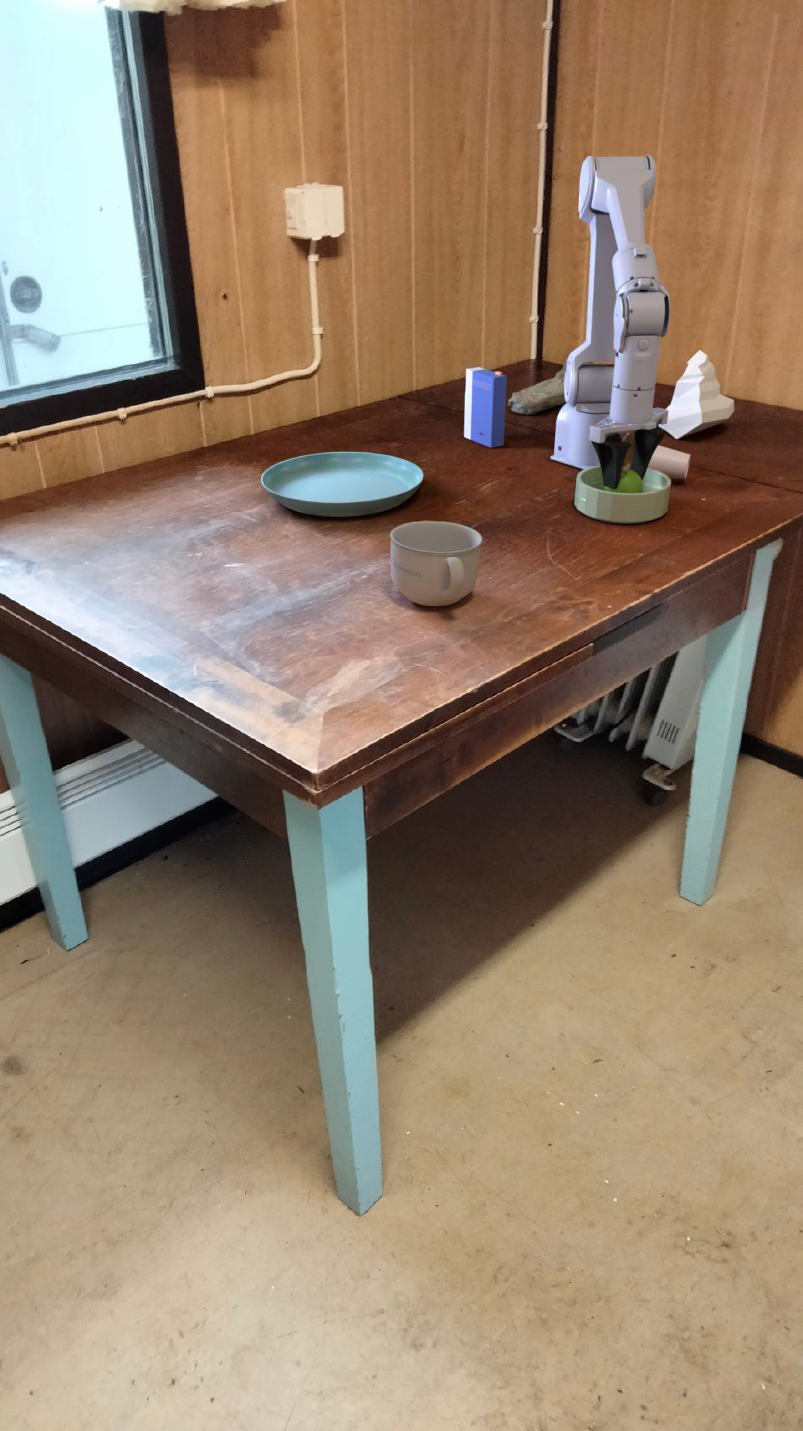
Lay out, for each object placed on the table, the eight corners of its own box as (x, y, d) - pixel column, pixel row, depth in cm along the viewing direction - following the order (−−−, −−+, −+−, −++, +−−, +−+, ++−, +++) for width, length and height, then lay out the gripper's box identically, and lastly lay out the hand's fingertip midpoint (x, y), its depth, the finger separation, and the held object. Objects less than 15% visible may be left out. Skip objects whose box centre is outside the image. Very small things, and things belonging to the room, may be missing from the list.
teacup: (387, 579, 129) (386, 518, 125) (473, 576, 130) (475, 515, 126) (396, 629, 117) (396, 564, 113) (491, 625, 118) (493, 560, 114)
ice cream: (640, 442, 182) (636, 357, 178) (688, 432, 192) (685, 352, 187) (702, 438, 173) (699, 349, 169) (749, 428, 182) (748, 343, 178)
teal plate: (456, 493, 156) (456, 472, 154) (341, 538, 141) (340, 515, 139) (344, 460, 170) (344, 440, 168) (229, 498, 155) (227, 476, 153)
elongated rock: (493, 417, 196) (538, 429, 191) (495, 389, 193) (540, 400, 188) (588, 371, 218) (630, 381, 213) (590, 346, 215) (633, 355, 210)
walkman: (503, 445, 176) (507, 373, 170) (490, 448, 175) (493, 375, 169) (476, 434, 182) (478, 364, 176) (463, 436, 181) (465, 366, 174)
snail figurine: (644, 498, 152) (652, 416, 145) (638, 514, 146) (646, 430, 140) (607, 494, 153) (613, 414, 147) (600, 510, 148) (606, 428, 141)
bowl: (555, 507, 151) (557, 477, 148) (614, 487, 158) (617, 458, 155) (626, 532, 142) (630, 501, 140) (685, 510, 149) (690, 480, 147)
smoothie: (694, 444, 159) (605, 429, 163) (690, 446, 154) (598, 431, 158) (684, 486, 162) (597, 470, 166) (680, 489, 156) (590, 473, 160)
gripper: (622, 400, 134) (611, 500, 141) (690, 382, 142) (677, 478, 149) (581, 390, 139) (573, 488, 146) (649, 373, 147) (638, 466, 154)
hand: (623, 482), depth 148 cm, fingers closed on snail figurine, 5 cm apart
